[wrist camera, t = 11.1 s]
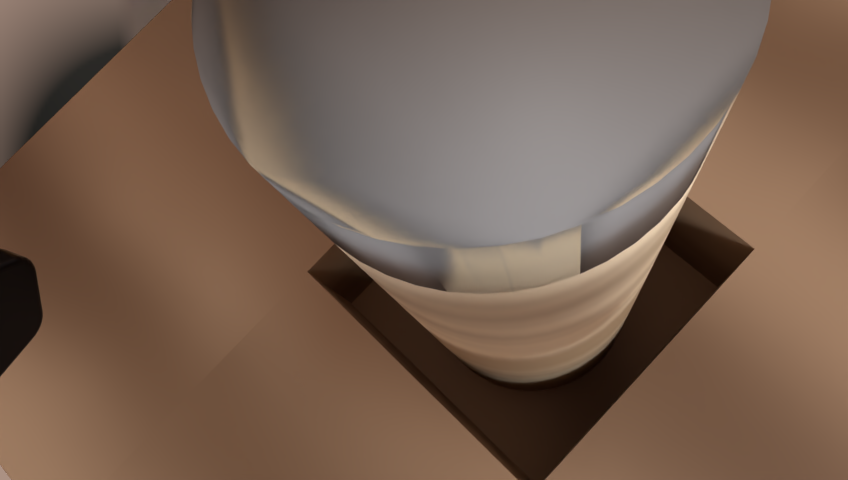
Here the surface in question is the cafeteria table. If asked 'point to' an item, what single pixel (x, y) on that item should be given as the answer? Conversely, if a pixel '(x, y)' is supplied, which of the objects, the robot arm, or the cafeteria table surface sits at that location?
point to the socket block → (394, 326)
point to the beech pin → (485, 150)
